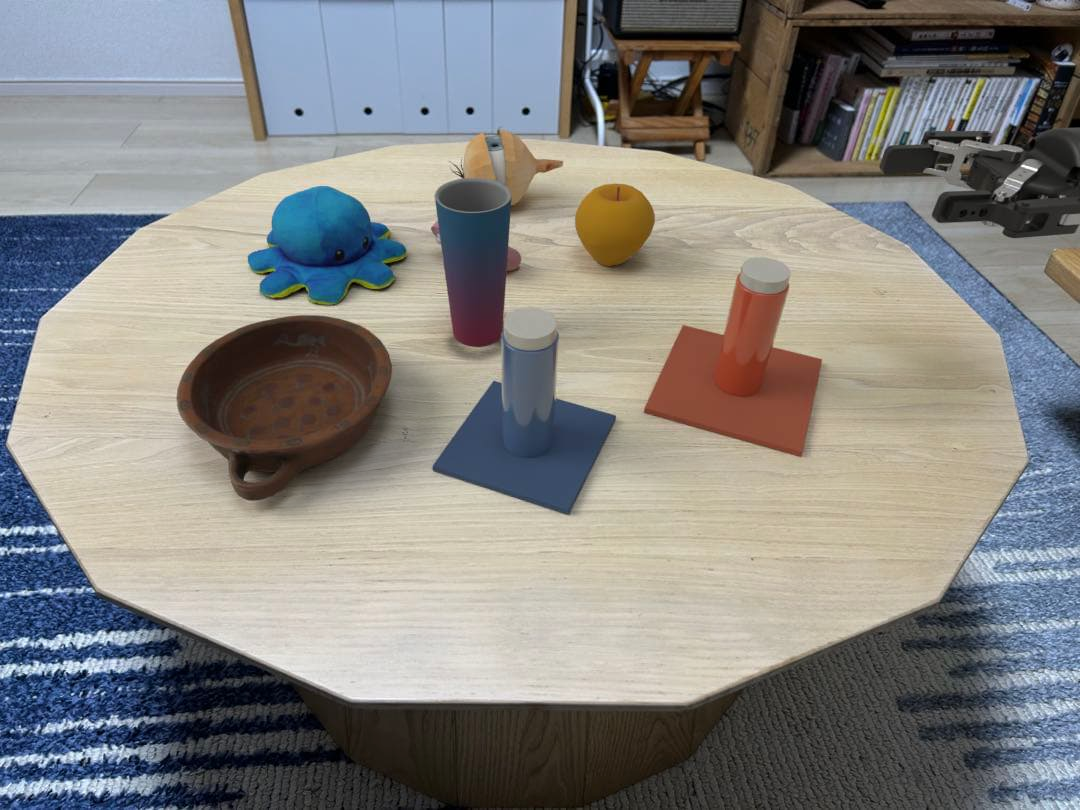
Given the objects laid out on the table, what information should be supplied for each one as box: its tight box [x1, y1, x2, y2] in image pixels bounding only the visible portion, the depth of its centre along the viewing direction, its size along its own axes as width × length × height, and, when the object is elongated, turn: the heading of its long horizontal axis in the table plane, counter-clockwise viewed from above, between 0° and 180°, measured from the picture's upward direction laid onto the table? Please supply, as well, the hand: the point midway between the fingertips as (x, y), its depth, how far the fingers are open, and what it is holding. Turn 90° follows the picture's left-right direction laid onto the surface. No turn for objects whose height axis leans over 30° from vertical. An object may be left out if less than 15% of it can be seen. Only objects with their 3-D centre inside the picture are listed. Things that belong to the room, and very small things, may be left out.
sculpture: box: [448, 125, 565, 207], centre depth 96 cm, size 9×9×15 cm
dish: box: [176, 314, 393, 502], centre depth 66 cm, size 17×22×5 cm
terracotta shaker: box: [714, 256, 792, 396], centre depth 68 cm, size 4×4×12 cm
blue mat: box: [432, 380, 617, 515], centre depth 66 cm, size 12×12×1 cm
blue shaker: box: [500, 307, 560, 458], centre depth 61 cm, size 4×4×12 cm
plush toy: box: [247, 185, 408, 306], centre depth 84 cm, size 17×17×8 cm
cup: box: [434, 178, 512, 347], centre depth 73 cm, size 7×7×15 cm
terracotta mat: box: [643, 324, 823, 457], centre depth 72 cm, size 14×14×1 cm
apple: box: [574, 183, 656, 267], centre depth 86 cm, size 9×9×9 cm
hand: (909, 182), depth 60 cm, fingers open, 8 cm apart
